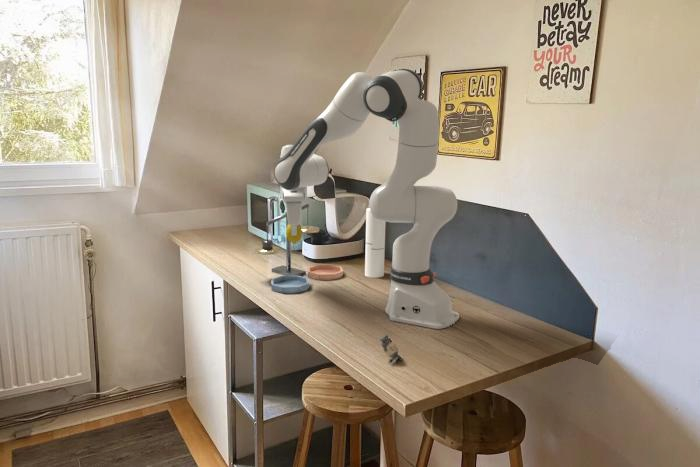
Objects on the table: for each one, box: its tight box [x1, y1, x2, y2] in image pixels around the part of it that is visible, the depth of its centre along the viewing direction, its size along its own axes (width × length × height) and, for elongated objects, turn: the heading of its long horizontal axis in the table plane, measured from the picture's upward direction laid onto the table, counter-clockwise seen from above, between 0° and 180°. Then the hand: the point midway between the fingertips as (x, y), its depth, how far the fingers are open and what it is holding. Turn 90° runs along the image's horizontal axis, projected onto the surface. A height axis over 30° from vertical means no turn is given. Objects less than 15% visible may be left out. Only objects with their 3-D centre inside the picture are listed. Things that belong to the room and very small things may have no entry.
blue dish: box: [270, 275, 310, 295], centre depth 188 cm, size 13×13×2 cm
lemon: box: [285, 223, 303, 245], centre depth 185 cm, size 6×6×8 cm
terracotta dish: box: [306, 263, 344, 281], centre depth 203 cm, size 13×13×2 cm
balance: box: [254, 203, 320, 277], centre depth 202 cm, size 31×12×25 cm, turn 143°
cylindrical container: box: [364, 207, 386, 279], centre depth 202 cm, size 7×7×25 cm
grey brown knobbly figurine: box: [379, 334, 405, 366], centre depth 135 cm, size 5×5×6 cm
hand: (294, 232), depth 185 cm, fingers closed on lemon, 5 cm apart
